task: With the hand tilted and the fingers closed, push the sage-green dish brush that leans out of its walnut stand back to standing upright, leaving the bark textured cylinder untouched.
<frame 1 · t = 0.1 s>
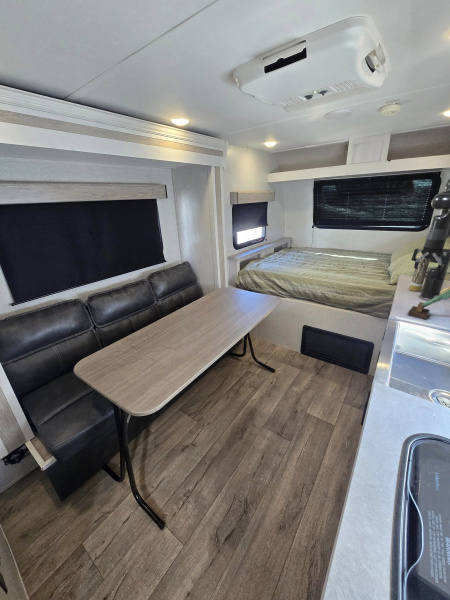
hand: (426, 270, 122), 29 cm above the countertop, tool pointing down, fingers open, 8 cm apart
brush: (436, 298, 132), point 12 cm above the countertop, hinge at 40.0°
brush stand: (418, 314, 140), on the countertop
bark textured cylinder: (414, 290, 175), on the countertop
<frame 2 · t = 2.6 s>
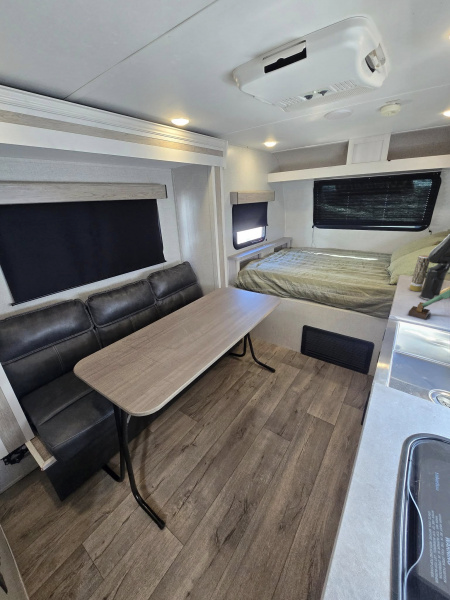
nothing on the countertop moved.
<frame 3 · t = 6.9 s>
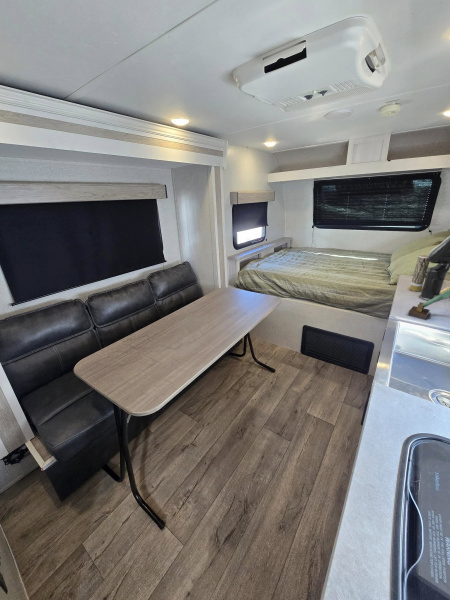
brush: (435, 298, 132), point 12 cm above the countertop, hinge at 39.8°, touching gripper
everything else where it was.
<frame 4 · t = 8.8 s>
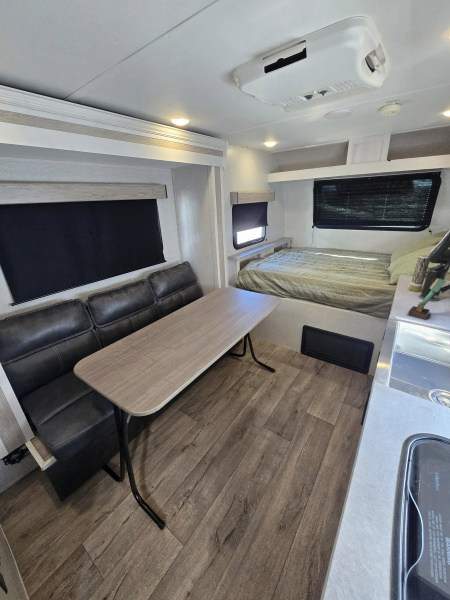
hand: (440, 290, 130), 17 cm above the countertop, tool tilted 45°, fingers closed
brush: (429, 294, 134), point 13 cm above the countertop, hinge at 17.7°, touching gripper
everything else where it was.
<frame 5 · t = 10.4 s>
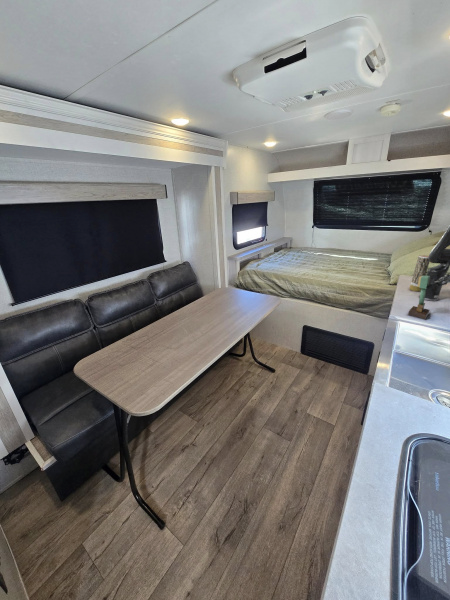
hand: (428, 287, 133), 17 cm above the countertop, tool tilted 45°, fingers closed
brush: (421, 292, 136), point 14 cm above the countertop, hinge at -6.1°, touching gripper
everything else where it was.
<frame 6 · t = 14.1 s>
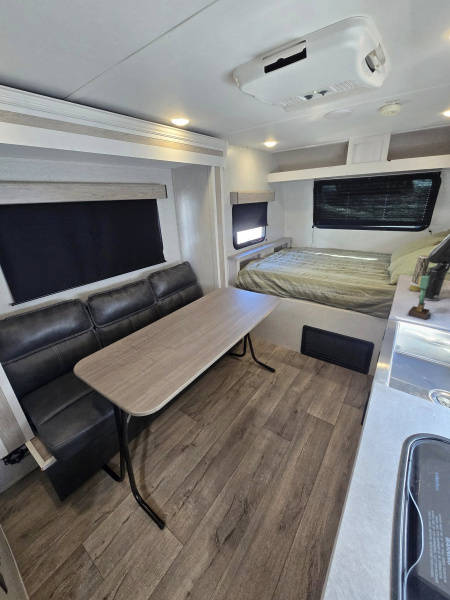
brush: (421, 292, 136), point 14 cm above the countertop, hinge at -6.1°
everything else where it was.
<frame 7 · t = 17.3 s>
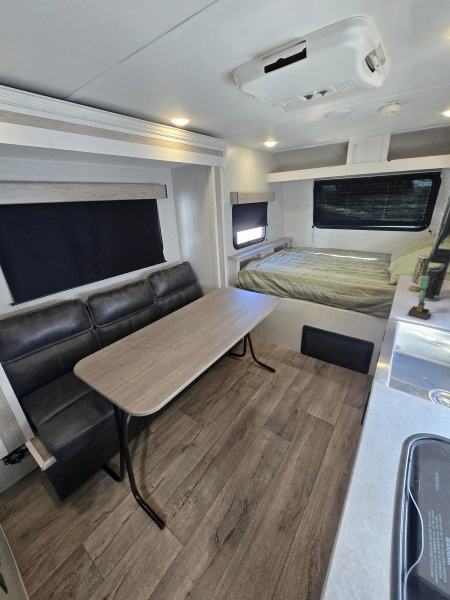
nothing on the countertop moved.
at the end: brush at -6° (first picture: +40°); bark textured cylinder moved 0.2 cm from its start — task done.
